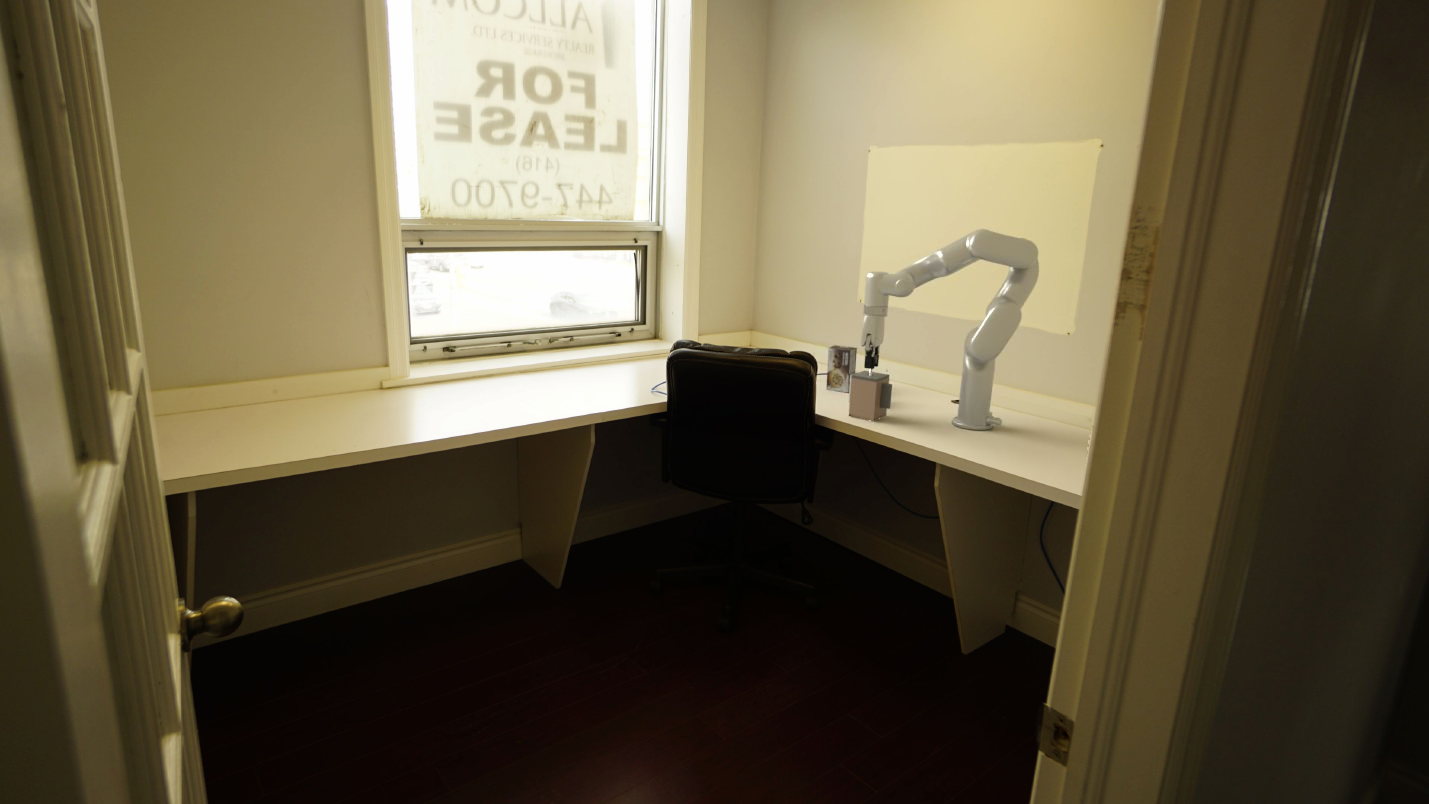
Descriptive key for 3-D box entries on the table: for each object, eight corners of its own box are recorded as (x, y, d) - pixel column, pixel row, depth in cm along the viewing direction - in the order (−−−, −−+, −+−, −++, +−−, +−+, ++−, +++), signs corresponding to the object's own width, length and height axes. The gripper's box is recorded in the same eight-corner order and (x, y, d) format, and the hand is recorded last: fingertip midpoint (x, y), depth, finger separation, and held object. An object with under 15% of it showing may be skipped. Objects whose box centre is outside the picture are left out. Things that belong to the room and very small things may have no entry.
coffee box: (854, 389, 290) (857, 347, 286) (848, 393, 284) (851, 350, 280) (832, 386, 294) (835, 344, 290) (825, 389, 289) (827, 347, 285)
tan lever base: (894, 417, 254) (897, 376, 250) (881, 423, 247) (885, 380, 243) (861, 410, 261) (864, 370, 257) (848, 416, 254) (851, 374, 250)
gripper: (871, 307, 255) (867, 361, 259) (855, 313, 240) (851, 370, 245) (894, 309, 251) (889, 364, 256) (879, 315, 237) (874, 373, 242)
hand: (871, 366), depth 250 cm, fingers closed on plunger, 3 cm apart
